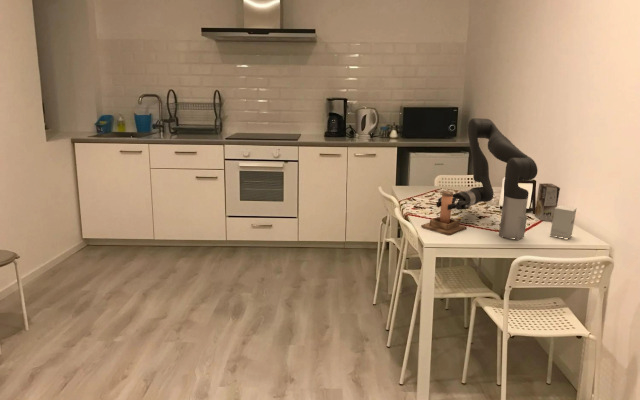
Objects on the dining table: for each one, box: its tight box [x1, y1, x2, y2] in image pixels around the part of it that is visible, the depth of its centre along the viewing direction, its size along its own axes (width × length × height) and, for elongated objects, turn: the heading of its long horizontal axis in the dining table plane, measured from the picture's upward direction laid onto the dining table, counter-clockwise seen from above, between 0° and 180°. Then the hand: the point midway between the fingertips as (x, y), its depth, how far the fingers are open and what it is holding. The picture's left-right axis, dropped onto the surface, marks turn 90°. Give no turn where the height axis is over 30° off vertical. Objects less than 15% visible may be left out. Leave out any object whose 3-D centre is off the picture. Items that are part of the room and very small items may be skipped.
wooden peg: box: [439, 190, 454, 224], centre depth 223 cm, size 5×5×15 cm
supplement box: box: [550, 204, 577, 239], centre depth 219 cm, size 7×7×13 cm
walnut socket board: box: [420, 216, 468, 236], centre depth 225 cm, size 14×14×4 cm
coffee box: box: [534, 182, 561, 222], centre depth 245 cm, size 9×6×16 cm
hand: (443, 206), depth 221 cm, fingers open, 5 cm apart
